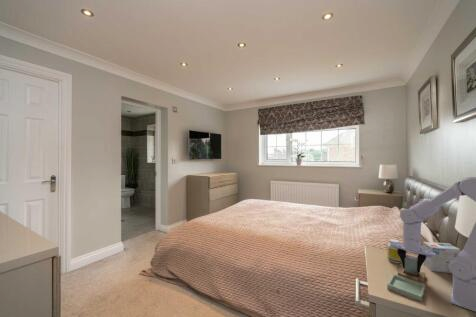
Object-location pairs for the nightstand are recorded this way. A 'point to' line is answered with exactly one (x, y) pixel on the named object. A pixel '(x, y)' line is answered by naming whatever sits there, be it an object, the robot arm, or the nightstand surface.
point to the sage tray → (406, 287)
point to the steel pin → (411, 265)
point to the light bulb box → (440, 256)
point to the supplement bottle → (393, 252)
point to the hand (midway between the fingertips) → (411, 269)
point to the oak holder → (420, 279)
